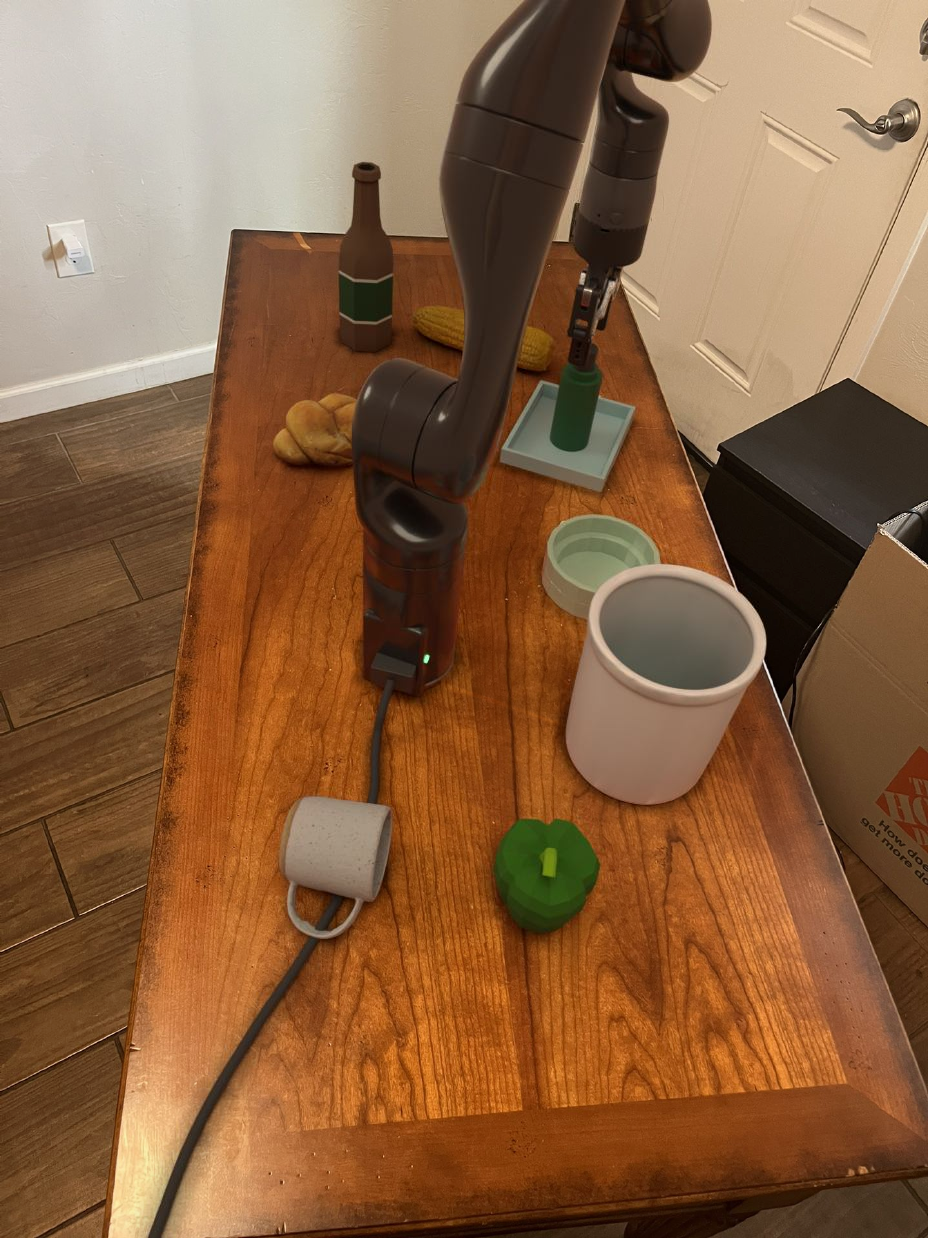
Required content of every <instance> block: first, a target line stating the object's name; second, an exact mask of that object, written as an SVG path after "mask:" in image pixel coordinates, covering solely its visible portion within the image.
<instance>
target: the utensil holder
mask: <svg viewBox="0 0 928 1238" xmlns="http://www.w3.org/2000/svg"><path fill="white" fill-rule="evenodd" d="M764 626H765V625H764V623H763V621H762V619H761V617H760V615H759V613H758V612H757V610H756V609H755V608H754V605H752V603H751V602H750V601H749V599H748V598H747V597H746V596H744V595H743V594H742V593H741V592H740V591H739V590H737V589H736V588H735V587H734V586H732V585H731V584H729V583H728V582H726V581H724V580H723V579H721V578H719V577H717V576H715V575H713V574H711V573H708V572H706V571H703V570H700V569H697V568H693V567H689V566H685V565H677V564H667V563H661V564H653V565H643V566H638V567H633V568H630V569H627V570H624V571H622V572H620V573H617V574H616V575H614V576H612V577H611V578H609V579H608V580H607V581H606V582H604V583H603V584H602V585H601V586H600V587H599V589H598V590H597V592H596V593H595V594H594V596H593V598H592V601H591V604H590V607H589V611H588V617H587V620H586V634H585V639H584V643H583V647H582V650H581V655H580V659H579V664H578V668H577V672H576V676H575V680H574V684H573V688H572V694H571V699H570V703H569V708H568V713H567V714H568V715H567V719H566V726H565V745H566V748H567V752H568V755H569V757H570V760H571V762H572V764H573V766H574V767H575V769H576V770H577V772H579V774H580V775H581V776H582V778H584V779H585V781H587V783H589V784H590V785H591V786H592V787H594V788H595V789H597V790H598V791H599V792H601V793H602V794H605V795H607V796H608V797H611V798H613V799H615V800H617V801H621V802H625V803H628V804H629V803H630V804H634V805H641V806H643V805H645V806H648V805H649V806H650V805H659V804H665V803H668V802H672V801H674V800H676V799H679V798H680V797H682V796H684V795H685V794H687V793H688V792H689V791H690V790H691V789H692V788H694V786H695V785H697V783H698V781H699V780H700V778H701V777H702V775H703V774H704V772H705V770H706V768H707V766H708V765H709V763H710V762H711V760H712V758H713V756H714V754H715V752H716V750H717V749H718V746H719V744H720V743H721V741H722V739H723V736H724V734H725V732H726V730H727V728H728V726H729V724H730V722H731V721H732V718H733V716H734V714H735V712H736V711H737V709H738V707H739V705H740V703H741V701H742V699H743V697H744V695H745V693H746V691H747V688H748V687H749V685H751V683H752V682H753V681H754V680H755V678H756V677H757V675H758V673H759V672H760V670H761V668H762V665H763V663H764V659H765V656H766V651H767V634H766V629H765V627H764Z"/></svg>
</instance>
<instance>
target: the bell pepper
mask: <svg viewBox="0 0 928 1238" xmlns="http://www.w3.org/2000/svg"><path fill="white" fill-rule="evenodd" d="M600 869H601V863H600V861H599V858H598V856H597V855H596V852H595V851H594V848H593V847H592V845H591V843H590V841H589V840H588V838H587V837H586V836H585V835H584V834H583V833H582V831H581V830H580V829H579V828H578V827H577V825H576V824H575V823H574V822H572V821H569V820H564V819H560V818H555V819H554V820H553V821H551V822H550V823H549V824H547V823H545V822H544V821H542V820H540V819H538V818H520V819H518V820H515V822H514V823H513V824H512V825H511V827H510V828H508V830H507V831H506V833H505V834H504V835H503V837H501V839H500V840H499V845H498V847H497V851H496V853H495V857H494V861H493V868H492V871H493V876H494V881H495V885H496V887H497V892H498V894H499V896H500V897H499V898H500V899H501V902H502V904H503V905H505V906H506V907H507V909H508V914H509V916H510V918H511V919H512V920H513V921H514V922H515V923H516V924H517V925H518V926H519V928H521V929H524V930H525V931H529V932H532V933H535V934H538V935H540V934H542V935H543V934H547V933H555V932H556V931H559V930H560V929H561V928H562V927H564V926H565V925H566V924H567V923H569V921H570V920H572V919H573V918H574V917H576V916H577V915H578V914H579V913H580V912H582V911H583V909H584V907H585V905H586V903H587V900H588V899H587V897H588V895H590V894H591V893H592V892H593V891H594V888H595V887H596V884H597V882H598V878H599V875H600V874H599V873H600Z"/></svg>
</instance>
